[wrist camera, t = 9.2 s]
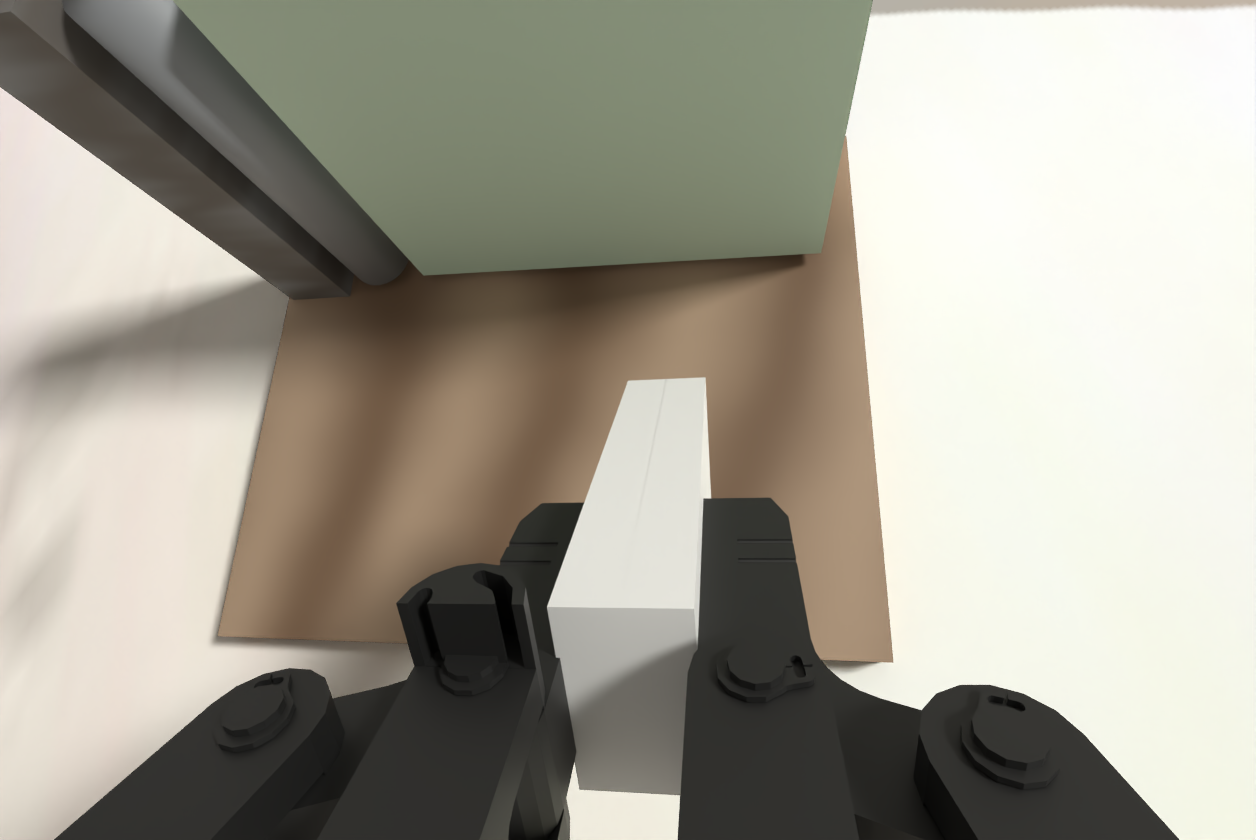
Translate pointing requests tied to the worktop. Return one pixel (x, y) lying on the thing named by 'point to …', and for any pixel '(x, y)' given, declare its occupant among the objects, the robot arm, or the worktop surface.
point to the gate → (514, 121)
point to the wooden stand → (490, 382)
